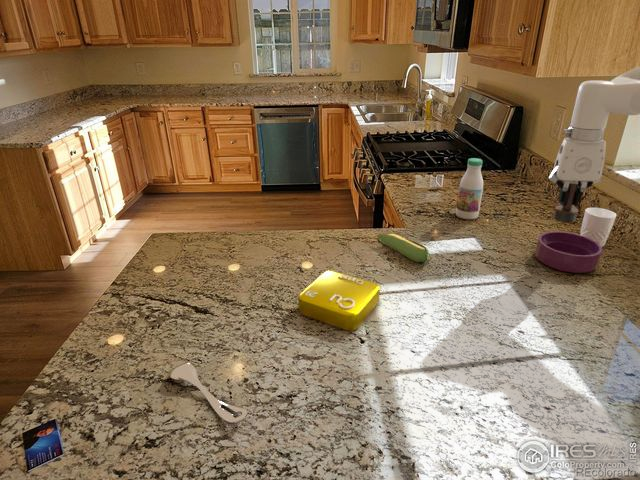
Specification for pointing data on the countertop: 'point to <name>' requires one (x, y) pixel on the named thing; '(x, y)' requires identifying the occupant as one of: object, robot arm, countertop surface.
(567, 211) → the dish brush
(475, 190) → the milk bottle
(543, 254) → the bowl
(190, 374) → the white kitchen utensil
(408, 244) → the edible corn
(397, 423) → the countertop surface
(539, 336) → the countertop surface
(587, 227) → the white cup
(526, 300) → the countertop surface
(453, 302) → the countertop surface
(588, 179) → the robot arm
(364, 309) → the element tile
